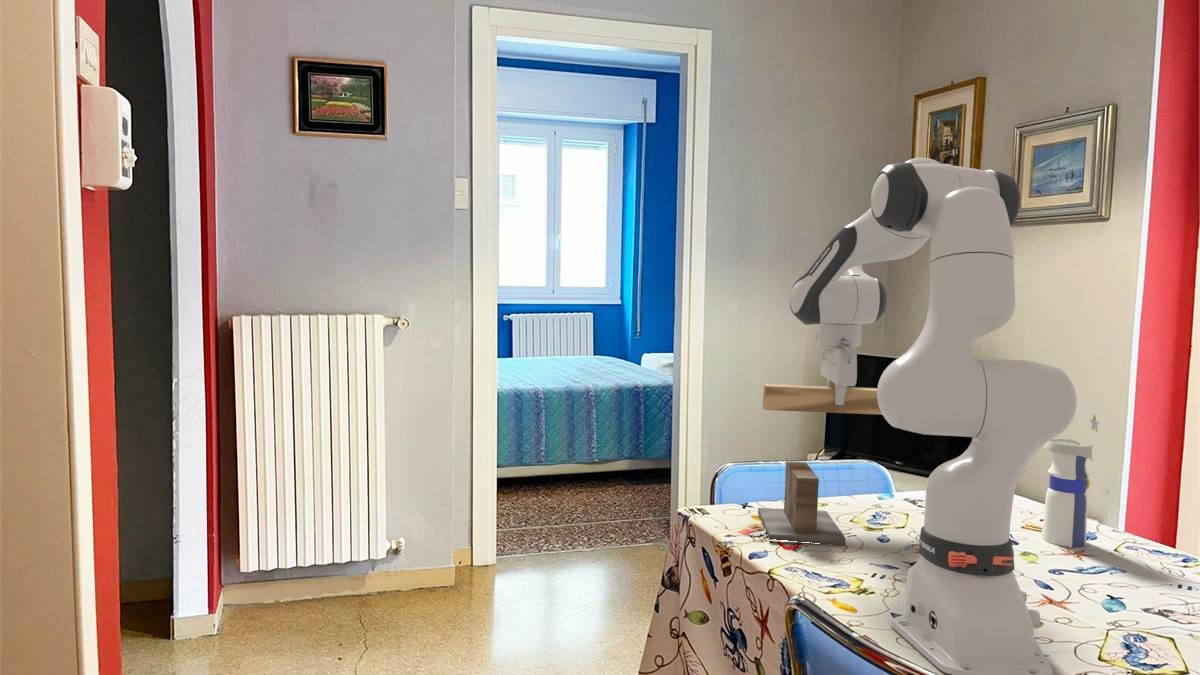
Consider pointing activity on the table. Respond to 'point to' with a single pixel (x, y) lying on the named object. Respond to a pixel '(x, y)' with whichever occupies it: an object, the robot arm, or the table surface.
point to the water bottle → (1067, 492)
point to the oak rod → (819, 399)
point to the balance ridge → (801, 511)
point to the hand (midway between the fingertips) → (836, 402)
